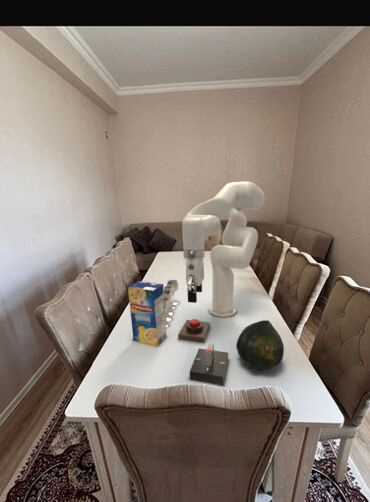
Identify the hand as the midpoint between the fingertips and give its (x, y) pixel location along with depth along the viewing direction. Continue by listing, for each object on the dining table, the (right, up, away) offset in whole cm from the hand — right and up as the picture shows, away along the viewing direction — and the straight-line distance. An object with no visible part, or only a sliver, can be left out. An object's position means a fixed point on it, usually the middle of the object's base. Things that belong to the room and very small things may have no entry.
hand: (195, 296), depth 95 cm
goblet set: (-11, -10, +23) cm, 27 cm away
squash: (+20, -20, -13) cm, 31 cm away
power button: (0, -12, +4) cm, 12 cm away
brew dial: (+4, -19, -17) cm, 25 cm away
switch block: (0, -15, +5) cm, 16 cm away
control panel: (+4, -22, -16) cm, 27 cm away
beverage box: (-18, -17, +2) cm, 24 cm away
